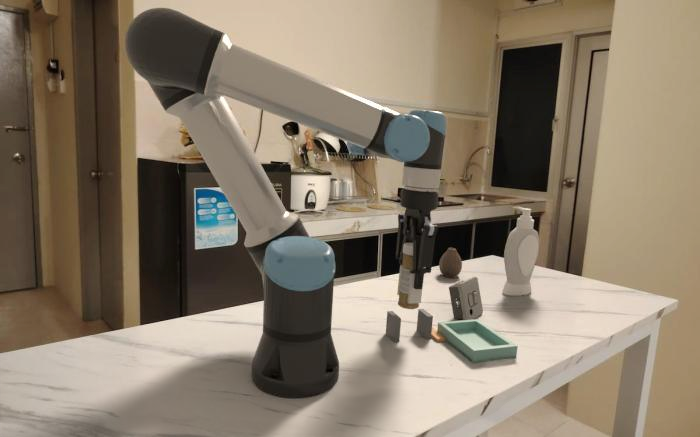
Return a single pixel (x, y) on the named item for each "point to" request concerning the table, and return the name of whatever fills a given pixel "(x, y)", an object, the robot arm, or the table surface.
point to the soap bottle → (520, 255)
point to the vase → (450, 263)
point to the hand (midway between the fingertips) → (408, 298)
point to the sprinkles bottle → (406, 277)
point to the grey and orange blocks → (422, 326)
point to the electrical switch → (466, 299)
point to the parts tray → (477, 340)
